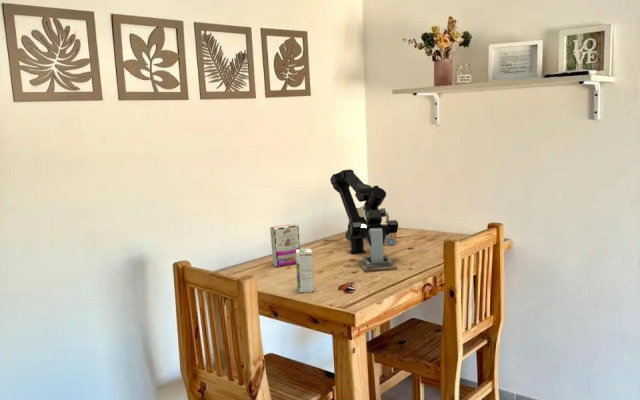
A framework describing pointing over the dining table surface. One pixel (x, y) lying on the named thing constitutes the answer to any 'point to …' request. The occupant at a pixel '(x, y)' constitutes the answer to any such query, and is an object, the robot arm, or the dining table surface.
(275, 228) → the candy bar box
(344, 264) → the dining table surface
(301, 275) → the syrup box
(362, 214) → the teapot
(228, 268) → the dining table surface
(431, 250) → the dining table surface
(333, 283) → the dining table surface
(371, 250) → the block
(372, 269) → the jig
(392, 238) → the stack of blocks
